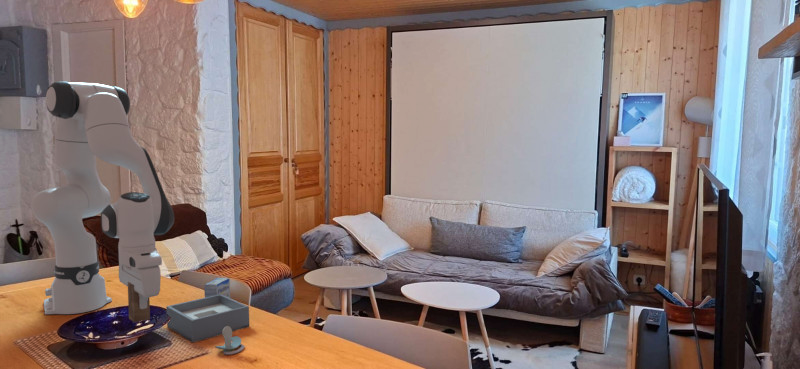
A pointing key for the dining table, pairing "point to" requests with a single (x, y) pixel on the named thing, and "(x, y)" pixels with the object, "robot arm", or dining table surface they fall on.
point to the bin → (207, 317)
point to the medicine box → (217, 287)
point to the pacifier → (228, 345)
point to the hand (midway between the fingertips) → (139, 305)
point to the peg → (136, 306)
